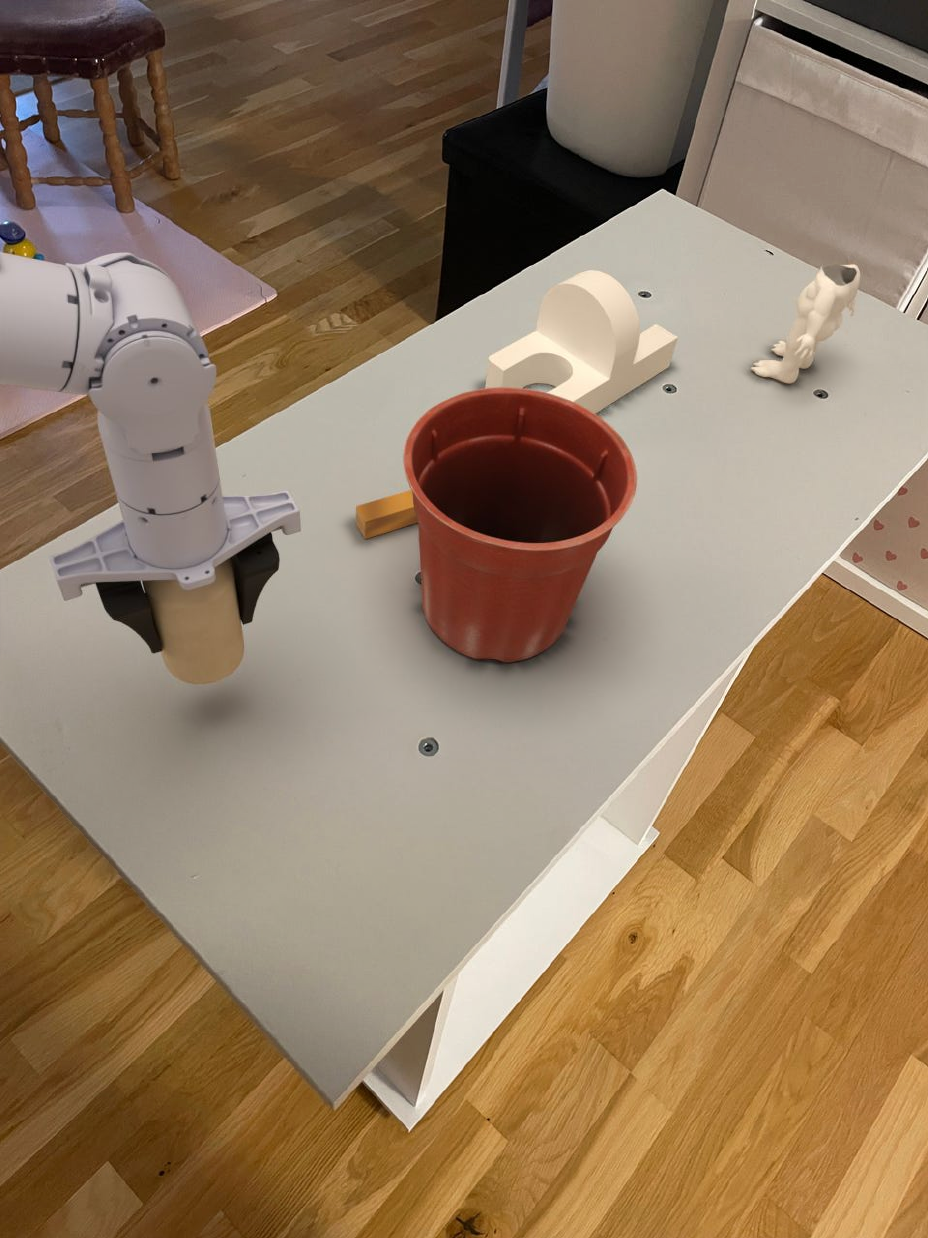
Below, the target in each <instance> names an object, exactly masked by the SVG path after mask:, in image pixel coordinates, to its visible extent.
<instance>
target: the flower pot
mask: <svg viewBox="0 0 928 1238" xmlns="http://www.w3.org/2000/svg"><path fill="white" fill-rule="evenodd" d="M402 457H403V469H404V474H405V478H406V481H407V484H408V486H409V489H410V490H412V494H413V505H414V509H415V513H416V516H417V518H418V523H417V527H418V546H419V548H418V549H419V562H420V581H421V582H420V584H421V585H420V587H421V607H422V611H423V615H424V617H425V619H426V622H427V623H428V625H429V627H430V628H431V629H432V631H433V632H434V633H435V634H436V636H437V637H438V638H439V639H440V640H441V641H442V642H443V643H444V644H446V645H448V646H449V647H450V648H451V649H453V650H455V651H456V652H458V653H460V654H463V655H464V656H466V657H469V658H471V659H472V658H473V659H475V660H481V659H490V660H491V659H492V660H497V661H501V662H503V663H513V662H518V661H519V662H520V661H523V660H527V659H530V658H532V657H534V656H536V655H539V654H541V653H542V652H544V651H546V650H547V649H548V648H550V647H551V646H552V645H553V644H554V643H556V641H557V640H558V639H559V638H560V636H561V635H562V634H563V632H564V629H565V628H566V626H567V623H568V621H569V619H570V617H571V614H572V612H573V610H574V607H575V605H576V602H577V601H578V598H579V595H580V593H581V592H582V589H583V587H584V584H585V583H586V580H587V578H588V575H589V573H590V570H591V569H592V567H593V563H594V562H595V559H596V557H597V555H598V553H599V551H600V550H601V549H602V548H603V547H604V545H606V543H607V541H608V539H609V538H610V535H611V534H612V531H613V529H614V527H615V526H616V525H617V524H618V523H619V522H621V520H622V519H623V517H624V516H625V515H626V513H627V512H628V511H629V509H630V507H631V506H632V504H633V502H634V498H635V496H636V492H637V486H638V473H637V467H636V463H635V460H634V457H633V454H632V452H631V450H630V449H629V447H628V445H627V443H626V442H625V440H624V439H623V438H622V436H621V435H620V434H619V433H618V432H617V430H615V428H614V427H612V426H611V425H610V424H609V423H608V422H607V421H605V419H603V418H602V417H600V416H599V415H598V414H597V413H596V414H594V413H593V412H591V411H590V410H588V409H586V408H584V407H583V406H581V405H579V404H576V403H574V402H572V401H570V400H567V399H564V398H562V397H559V396H556V395H553V394H549V393H547V392H545V391H541V390H536V389H530V388H510V387H497V388H485V387H484V388H480V389H474V390H473V389H472V390H468V391H464V392H462V393H460V394H456V395H455V396H452V397H450V398H447V399H445V400H444V401H441V402H439V403H437V404H436V405H434V406H433V407H431V408H430V409H428V410H427V411H426V412H425V413H423V415H421V417H419V419H418V420H417V421H415V423H414V424H413V427H412V428H411V429H410V432H409V433H408V436H407V437H406V440H405V443H404V448H403V456H402Z"/></svg>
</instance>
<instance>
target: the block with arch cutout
mask: <svg viewBox="0 0 928 1238" xmlns="http://www.w3.org/2000/svg"><path fill="white" fill-rule="evenodd" d="M536 323H537V324H536V328H535V330H534V331H532V332H530V333H529V334H527V335H525V336H523V337H522V338H520V339H517V340H516V341H514V342H513V343H510V344H509V345H507V346H505V347H503V348H502V349H500V350H498V351H496V352H494V353H492V354H491V355H490V356H488V364H487V371H486V379H485V387H484V389H485V388H497V387H510V388H522V389H524V388H525V387H528V386H529V385H534V384H545V385H550V386H553V387H554V388H552V389H551V390H549V391H547V392H546V393H549V394H553V395H556V396H559V397H562V398H564V399H567V400H570V401H572V402H574V403H576V404H579V405H581V406H583V407H584V408H586V409H588V410H590V411H591V412H593V413H594V414H596V415H597V414H598V413H599V412H601V411H603V409H605V408H607V407H608V406H610V405H611V404H613V403H614V402H616V401H618V400H619V399H621V398H623V397H624V396H625V395H627V394H628V393H630V392H632V391H634V390H635V389H636V388H638V387H640V386H641V385H643V384H645V383H646V382H647V381H649V380H650V379H652V378H654V377H655V376H657V375H659V374H660V373H661V372H663V371H665V370H666V369H668V368H669V367H670V365H671V361H672V358H673V355H674V352H675V348H676V345H677V342H678V338H679V337H678V336H676V335H675V334H674V333H672V332H670V331H669V330H667V329H665V328H664V327H662V326H660V325H659V324H657V323H655V324H654V325H652V326H651V327H649V328H647V329H645V330H643V331H642V332H641V327H640V325H641V324H640V318H639V315H638V311H637V308H636V305H635V303H634V301H633V300H632V297H631V296H630V293H628V291H627V290H626V288H624V286H623V285H622V284H621V283H620V282H619V281H618V280H616V278H614V277H613V276H611V275H609V274H607V273H606V272H603V271H601V270H594V269H588V270H585V271H580V272H579V273H576V274H575V275H572V276H571V277H569V278H567V279H565V280H564V281H561V282H559V283H557V284H556V285H554V286H553V287H552V288H550V289H549V290H547V292H546V293H545V295H544V296H543V298H542V300H541V302H540V307H539V311H538V317H537V322H536Z"/></svg>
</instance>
